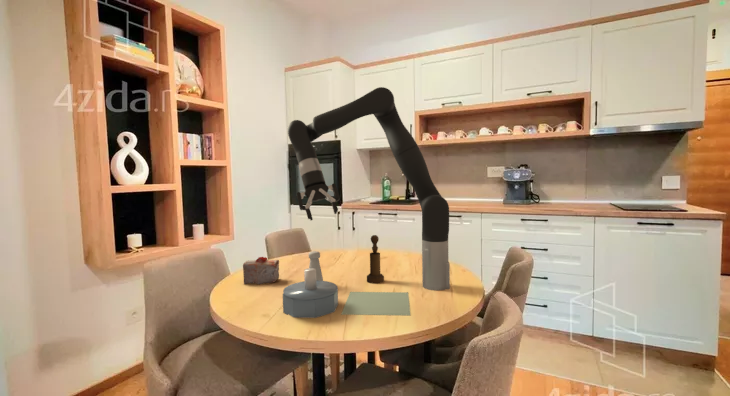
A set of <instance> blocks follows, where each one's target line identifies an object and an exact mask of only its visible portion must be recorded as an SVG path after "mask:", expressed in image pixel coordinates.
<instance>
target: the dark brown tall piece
mask: <svg viewBox="0 0 730 396" xmlns="http://www.w3.org/2000/svg"><path fill="white" fill-rule="evenodd" d="M370 242H371V244H372V247H371V249H372V252H369V273H368V274H367V275H366V282H367V283H369V284H373V285H374V284H377V285H378V284H382V283H384V282H385V276H384V274H382V273H381V252H378V249H379V247H378V245H377V244H378V242H379V236H378V235H376V234H373V235H372V236H371V235H370Z"/></svg>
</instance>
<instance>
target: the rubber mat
mask: <svg viewBox="0 0 730 396" xmlns="http://www.w3.org/2000/svg"><path fill="white" fill-rule="evenodd" d="M343 306H344V307H343V309H342V311H341V313H340V315H344V316H345V315H346V316H347V315H348V316H349V315H350V316H351V315H353V316H359V315H360V316H402V317H403V316H409V317H410V316H411V308H410V297H409V292H405V291H404V292H402V291H400V292H399V291H398V292H397V291H392V292H391V291H387V292H386V291H350V292H349V294H348V297H347V299H346V302H345V304H344V305H343Z"/></svg>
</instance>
